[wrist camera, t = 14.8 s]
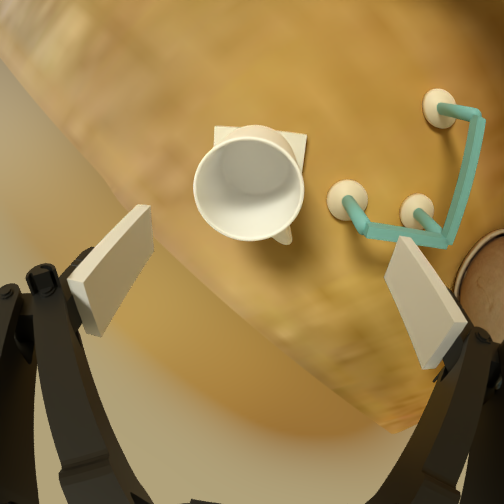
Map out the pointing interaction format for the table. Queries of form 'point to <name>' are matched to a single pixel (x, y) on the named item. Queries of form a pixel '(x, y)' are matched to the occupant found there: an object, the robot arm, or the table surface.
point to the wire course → (418, 205)
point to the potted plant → (484, 285)
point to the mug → (250, 185)
